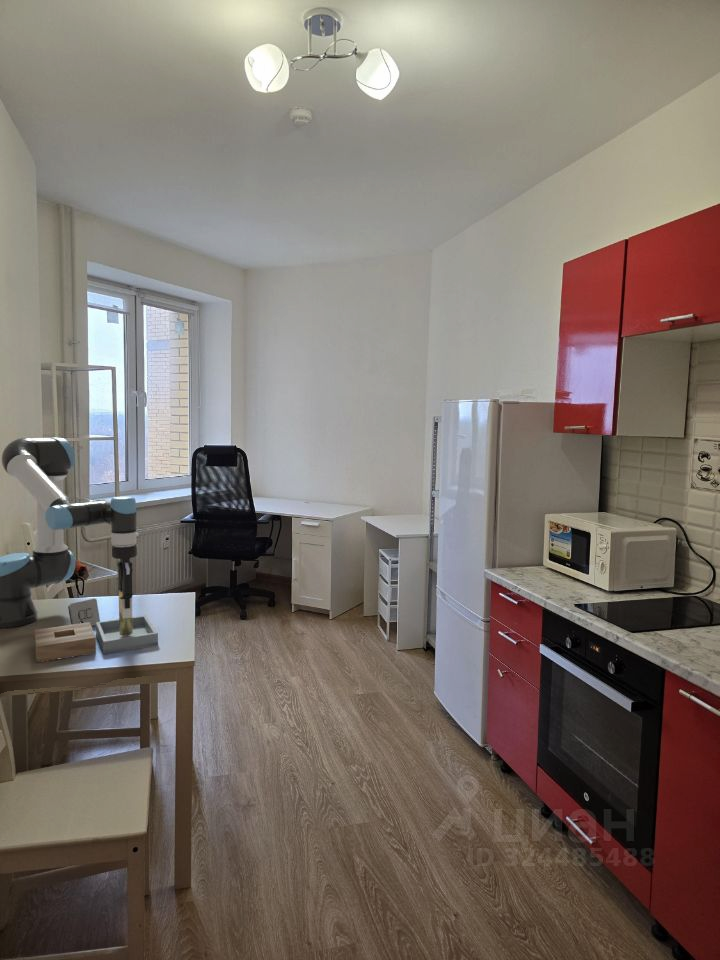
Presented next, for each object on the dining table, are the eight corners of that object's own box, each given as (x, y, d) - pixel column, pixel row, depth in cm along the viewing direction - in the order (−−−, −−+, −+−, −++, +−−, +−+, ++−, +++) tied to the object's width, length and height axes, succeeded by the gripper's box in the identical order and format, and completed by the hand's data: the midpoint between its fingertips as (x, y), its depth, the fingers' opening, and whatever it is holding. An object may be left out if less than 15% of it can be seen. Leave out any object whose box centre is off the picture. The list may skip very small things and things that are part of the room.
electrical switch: (74, 631, 201) (72, 604, 201) (67, 629, 204) (65, 602, 204) (101, 624, 208) (99, 598, 208) (93, 623, 211) (91, 597, 211)
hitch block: (35, 645, 188) (34, 629, 188) (90, 636, 196) (89, 622, 196) (36, 663, 174) (36, 646, 174) (96, 653, 182) (95, 637, 182)
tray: (96, 633, 199) (95, 622, 198) (146, 626, 207) (145, 615, 206) (103, 654, 182) (103, 641, 181) (158, 645, 190) (157, 633, 189)
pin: (118, 632, 195) (117, 590, 193) (131, 630, 197) (130, 589, 195) (120, 636, 191) (119, 594, 190) (133, 634, 193) (132, 592, 192)
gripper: (141, 548, 186) (142, 621, 188) (132, 539, 200) (133, 606, 203) (115, 550, 182) (117, 625, 184) (108, 541, 197) (109, 609, 199)
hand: (125, 615), depth 193 cm, fingers closed on pin, 4 cm apart
